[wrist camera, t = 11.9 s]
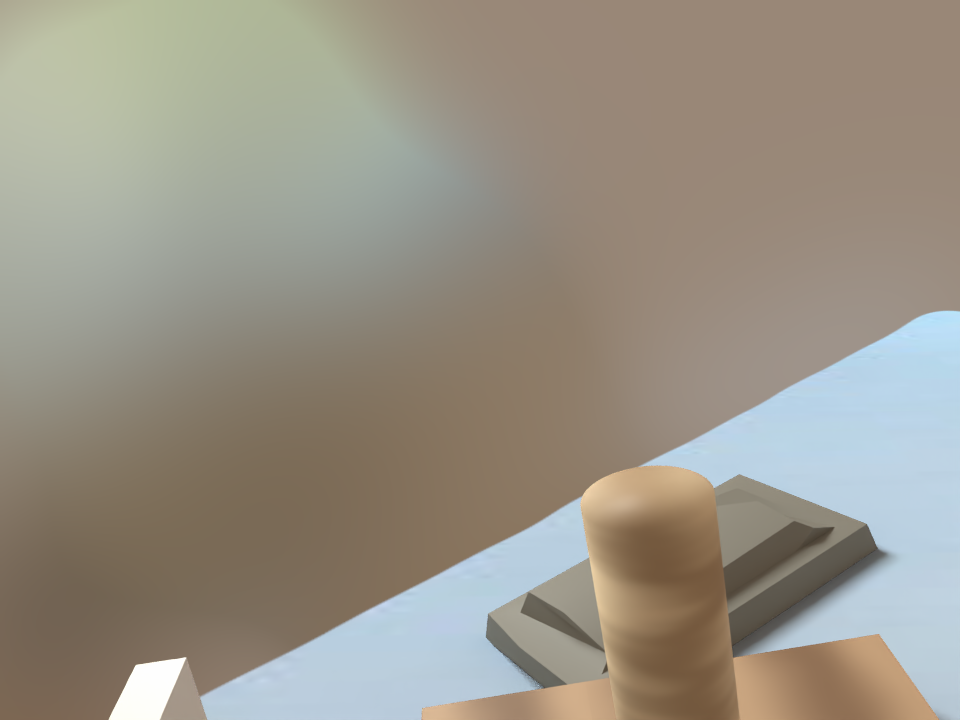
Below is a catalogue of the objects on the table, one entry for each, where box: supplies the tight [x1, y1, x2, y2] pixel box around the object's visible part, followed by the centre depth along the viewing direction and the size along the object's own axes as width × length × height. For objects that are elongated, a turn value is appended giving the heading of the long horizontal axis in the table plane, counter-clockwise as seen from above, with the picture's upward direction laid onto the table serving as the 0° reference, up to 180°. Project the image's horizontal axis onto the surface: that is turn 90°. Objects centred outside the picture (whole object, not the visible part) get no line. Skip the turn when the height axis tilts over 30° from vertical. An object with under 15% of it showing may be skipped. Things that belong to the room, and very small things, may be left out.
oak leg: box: [581, 466, 740, 720], centre depth 29 cm, size 4×4×16 cm
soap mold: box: [486, 474, 878, 688], centre depth 48 cm, size 10×20×4 cm, turn 122°
